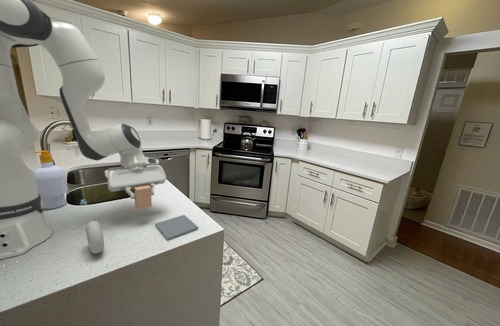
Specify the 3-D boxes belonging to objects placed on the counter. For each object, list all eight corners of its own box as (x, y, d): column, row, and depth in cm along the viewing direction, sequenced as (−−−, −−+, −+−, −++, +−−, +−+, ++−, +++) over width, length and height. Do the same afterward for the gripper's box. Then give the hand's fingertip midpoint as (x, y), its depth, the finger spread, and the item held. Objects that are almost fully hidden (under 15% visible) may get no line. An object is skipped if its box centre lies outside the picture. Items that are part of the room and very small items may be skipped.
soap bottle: (33, 206, 88) (21, 150, 82) (63, 198, 97) (55, 147, 91) (43, 213, 84) (32, 154, 78) (74, 204, 92) (66, 151, 87)
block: (137, 210, 77) (136, 190, 75) (135, 207, 79) (134, 187, 77) (151, 207, 81) (151, 187, 79) (148, 204, 83) (148, 185, 81)
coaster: (167, 240, 72) (167, 238, 72) (155, 225, 81) (154, 223, 80) (198, 229, 80) (198, 227, 80) (184, 216, 89) (184, 214, 88)
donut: (87, 245, 67) (83, 217, 65) (100, 241, 70) (96, 214, 67) (92, 262, 60) (88, 231, 58) (106, 257, 63) (103, 227, 60)
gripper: (104, 163, 74) (111, 198, 70) (162, 159, 88) (171, 188, 84) (102, 172, 78) (109, 206, 74) (158, 166, 92) (167, 194, 88)
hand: (143, 196), depth 79 cm, fingers closed on block, 5 cm apart
